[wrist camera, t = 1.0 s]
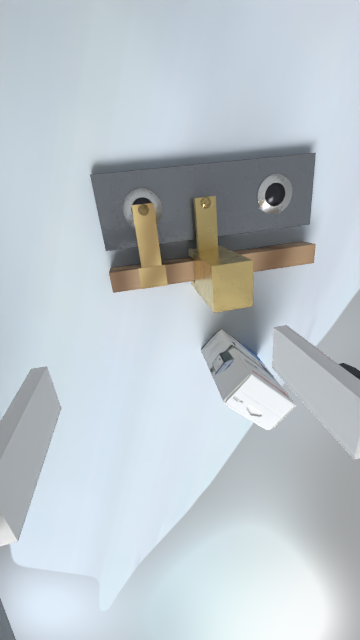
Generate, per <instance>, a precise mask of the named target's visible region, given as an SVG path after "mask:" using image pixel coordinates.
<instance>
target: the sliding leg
mask: <svg viewBox="0 0 360 640" xmlns="http://www.w3.org/2000/svg"><path fill="white" fill-rule="evenodd" d="M193 203H194V216H195V229H196V243H197V248H193V249H188V252H189V256H190V257H191V258H192V259H193V261H194V273H195V281H191V284H192V286H193V287H194V288H195V289H196V291H197V292H198V293H199V294H200V296H201V297H202V298H203V299H204V301H205V302H206V303H207V304H208V306H209V307H210V308H211V309H212V311H213V312H214V313H215V312H221V311H228V310H234V309H240V308H246V307H252V306H253V260H251V259H249V258H247V257H244V256H242V255H240V254H238V253H235V252H233V251H231V250H229V249H226V248H224V247H222V246H220V245H218V233H217V211H216V196H210V197H201V198H193Z"/></svg>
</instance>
